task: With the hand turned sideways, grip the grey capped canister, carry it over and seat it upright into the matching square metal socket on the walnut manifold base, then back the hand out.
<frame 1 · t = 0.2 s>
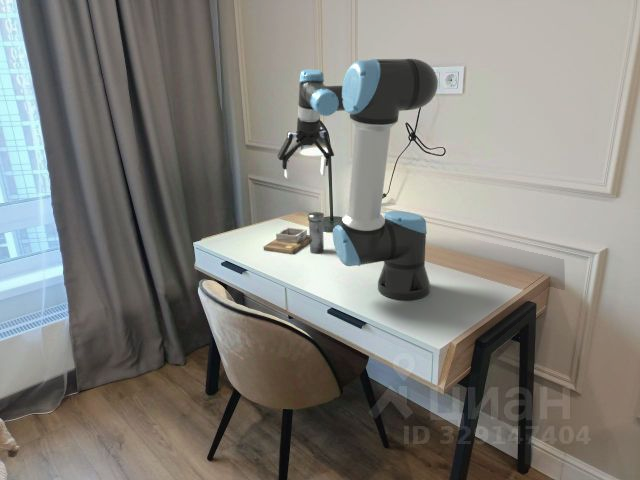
hand: (304, 175, 173), 27 cm above the table, tool tilted 15°, fingers open, 13 cm apart
manifold base: (289, 244, 183), on the table
grey capped canister: (317, 251, 175), on the table
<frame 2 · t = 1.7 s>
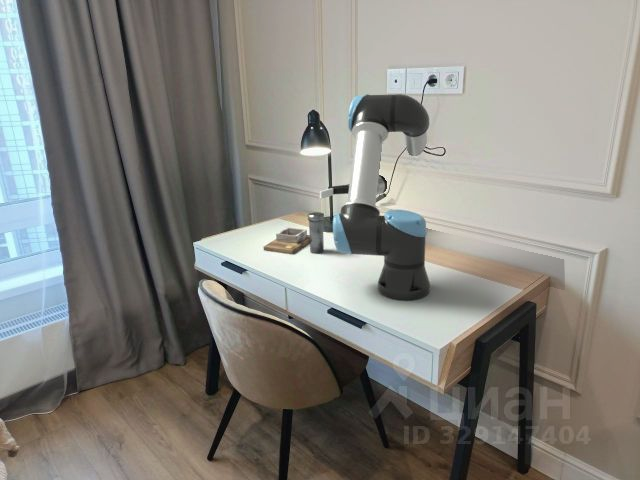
hand: (333, 197, 176), 18 cm above the table, tool horizontal, fingers open, 13 cm apart
nothing on the table moved.
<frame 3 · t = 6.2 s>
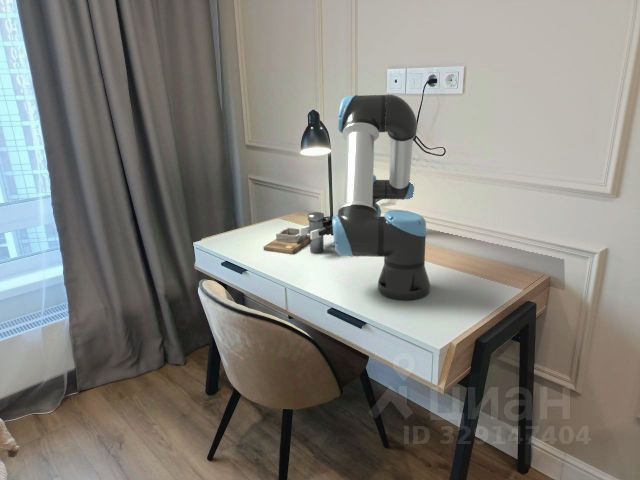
hand: (305, 233, 169), 8 cm above the table, tool horizontal, fingers closed on grey capped canister, 5 cm apart
grey capped canister: (317, 251, 175), on the table, touching gripper
when the fingers open (11 cm above the table, at t = 10.6 s): grey capped canister drops 1 cm, resting on manifold base.
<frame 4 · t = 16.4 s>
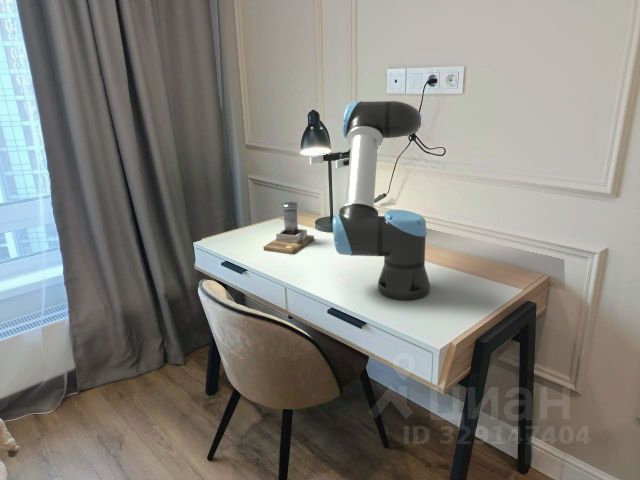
hand: (323, 162, 179), 30 cm above the table, tool horizontal, fingers open, 13 cm apart
grey capped canister: (291, 239, 184), point 2 cm above the table, touching manifold base
at the end: grey capped canister 0.1 cm from the target spot on the manifold base, point 1.5 cm above the manifold base's base; grey capped canister tilted 1°; the gripper is holding nothing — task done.
